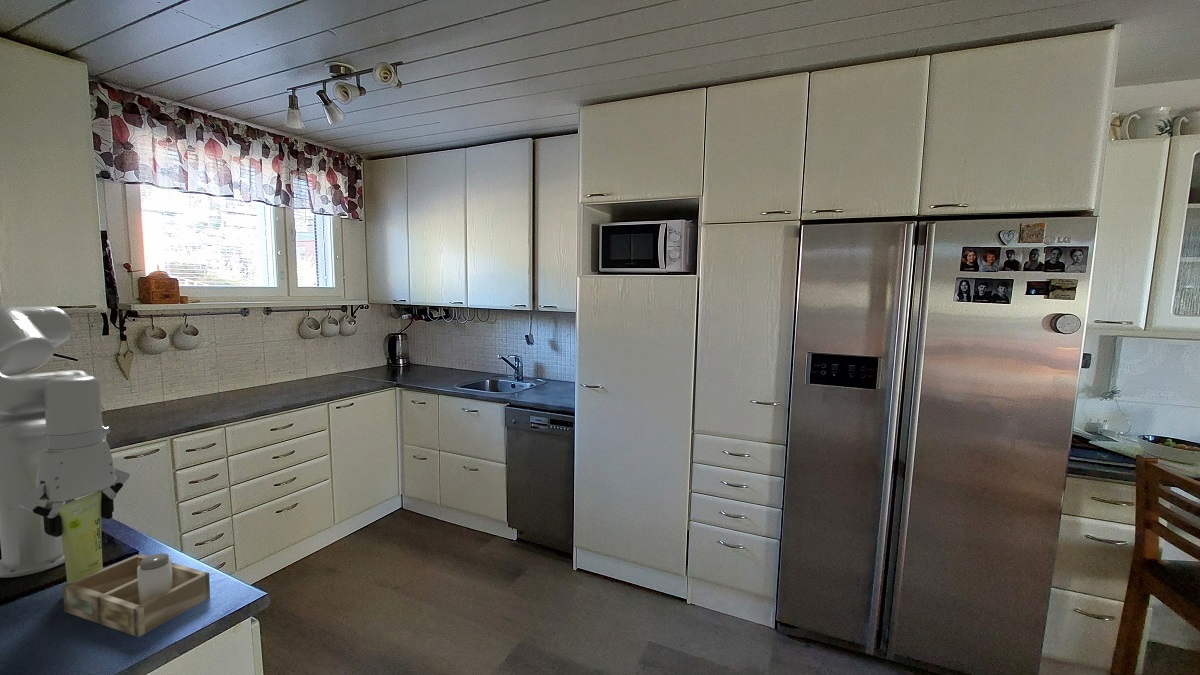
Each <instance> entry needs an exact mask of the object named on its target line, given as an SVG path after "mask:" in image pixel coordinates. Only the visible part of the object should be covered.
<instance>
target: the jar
mask: <svg viewBox="0 0 1200 675" xmlns="http://www.w3.org/2000/svg"><path fill="white" fill-rule="evenodd" d="M148 556H149V557H146V558H144V559H143V560H141V561H140V565H139V566H138V568H137V576H138V596H139V605H141V604H143V603H145V602H147V601H149V600H151V599H153V598H155V597H157V596H159V595H161V594H163V593H165V592H167V591H169V590H171V589H173V581H172V563H173V562H172V561H173V560H172V558H170V557H169V554H168V553H156V554H151V555H148Z"/></svg>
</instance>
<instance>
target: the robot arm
mask: <svg viewBox="0 0 1200 675" xmlns="http://www.w3.org/2000/svg"><path fill="white" fill-rule="evenodd" d="M73 332H74V324H73V321H72V318H71V317H70V316H69V314H68V313H67V312H66V311H65V310H63V309H61V308H59V307H55V306H47V305H45V306H44V305H43V306H37V305H36V306H34V305H32V306H0V550H1V551H0V552H1V559H0V578H3V579H5V578H8V579H9V578H17V577H22V576H23V577H24V576H28V575H33V574H37V573H40V572H43V571H48V570H51V569H52V568H55V567H57V566H60V565H62V564H65V558H64V551H63V544H62V537H61V535H62V523H61V516H58V515H57V513H58V512H59V510H60V508H61V506H62V505H64V504H66V502H68V501H71V500H74V499H79V498H83V497H86V496H88V495H91V494H94V493H96V492H99V491H101V493H102V497H101V519H105V520H106V519H107V520H110V519H112V518H113V512H114V511H115V509H114V508H115V506H114V504H115V503H114V499H116V497H117V494H118V493H119V491H120V490H121V489H122V488H123V487H124V484H125V483H126V482H127V481H128V479H129V478H130V476H131V474H130V473H129V472H126V471H124V470H120V469H117V468H115V464H114V459H113V458H114V457H113V455H112V451H111V448H110V446H109V443H108V441H107V434H110V433H111V432H112V431H111V428H110V426H106V427H105V425H104V423H103V418H102V417H103V416H102V396H101V395H102V394H101V382H100V380H99V379H98V377H96V376H92V375H89V374H88V373H87V372H86V371H83V370H80V369H79V370H77V369H73V370H72V369H70V370H58V371H45V372H43V371H42V372H35V373H29V372H31V371H34V370H36V369H39V368H41V367H42V366H44V365H46V364H47V363H49V361H50V360H51V359H52V358H53V356H54V354H55V348H56V347H57V348H58V346H60V345H62V344H64V343H66V342H67V341H69V339H70V338H71V337H72V335H73Z"/></svg>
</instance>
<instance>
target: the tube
mask: <svg viewBox="0 0 1200 675" xmlns="http://www.w3.org/2000/svg"><path fill="white" fill-rule="evenodd" d="M101 497H102V493H101V491H99V492H95V493H92V494H88V495H85V496H82V497H79V498H76V500H72V501H70V502H67V503H66V502H65V504H64V505H62V506H61V508H60V510H59V512H58V513H57V515H58V516H61V523H62V535H61V537H62V544H63V551H64V558H65V562H64V566H65V575H66V584H68V583H71V582H73V581H75V580H78V579H80V578H83V577H85V576H87V575H90V574H92V573H94V572H97V571H99V570H102V569H104V566H103V548H102V547H103V546H102V518H101Z"/></svg>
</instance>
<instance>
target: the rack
mask: <svg viewBox="0 0 1200 675" xmlns="http://www.w3.org/2000/svg"><path fill="white" fill-rule="evenodd" d="M149 556H150V555H145V554H142V553H138V554H135V555H132V556H130V557H128V558H125V559H123V560H121V561H118V562H116V563H114V564H112V565H111V564H110V565H109V566H107V567H103V569H102V570H99V571H97V572H94V573H92V574H90V575H87V576H85V577H83V578H80V579H78V580H75V581H73V582H71V583H68V584H67V583H65V585H62V595H63V598H62V599H63V609H64V610H63V611H64V612H65V613H68V614H69V615H70V614H71V615H73V616H76V617H79V618H82V619H86V620H87V621H90V622H94V623H95V624H99V625H102V626H106V627H108V628H110V629H114V630H116V631H119V632H123V633H125V634H128V635H131V636H134V637H137V638H139V637H141V636H143V635H144V634H147V633H149V632H151V631H152V630H154V629H155V628H157V627H159V626H162V625H163V624H164V623H166V622H168V621H170V620H172V619H173V618H175V617H177V616H179V615H181V614H183V613H185V612H186V611H188V610H190V609H191V608H193V607H195V606H197V605H198V604H200V603H203V602H204V601H206V600H208V599H210V598H211V583H210V572H207V571H204V570H200V569H196V568H193V567H189V566H186V565H185V566H184V565H181V564H179V563H174V562H172V581H173V589H171V590H169V591H167V592H165V593H163V594H161V595H159V596H157V597H155V598H153V599H151V600H149V601H147V602H145V603H143V604H141V605H139V596H138V576H137V568H138V566H139V565H140V561H141V560H143V559H144V558H146V557H149Z"/></svg>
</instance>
